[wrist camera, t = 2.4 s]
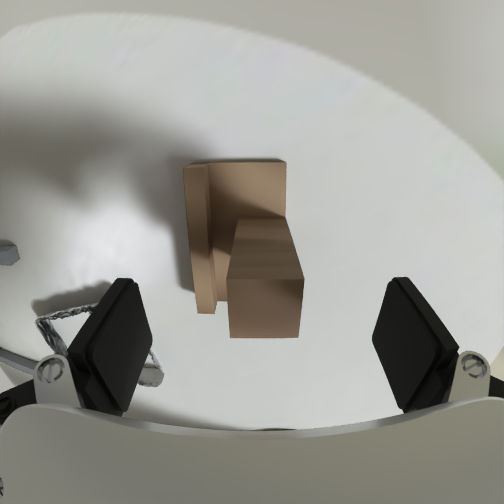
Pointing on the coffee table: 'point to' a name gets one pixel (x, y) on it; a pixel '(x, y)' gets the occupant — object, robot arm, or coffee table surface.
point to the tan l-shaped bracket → (244, 247)
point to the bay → (3, 257)
